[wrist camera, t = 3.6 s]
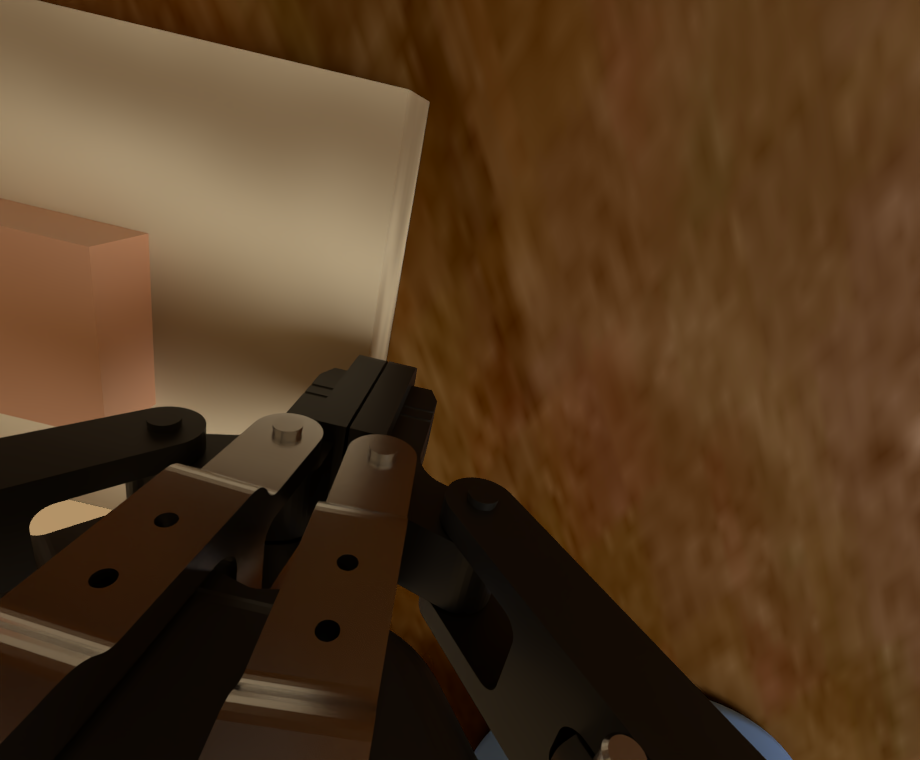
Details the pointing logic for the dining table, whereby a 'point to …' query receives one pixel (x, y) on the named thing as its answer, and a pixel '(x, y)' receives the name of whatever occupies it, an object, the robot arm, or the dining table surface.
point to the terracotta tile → (73, 317)
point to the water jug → (770, 749)
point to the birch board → (217, 198)
